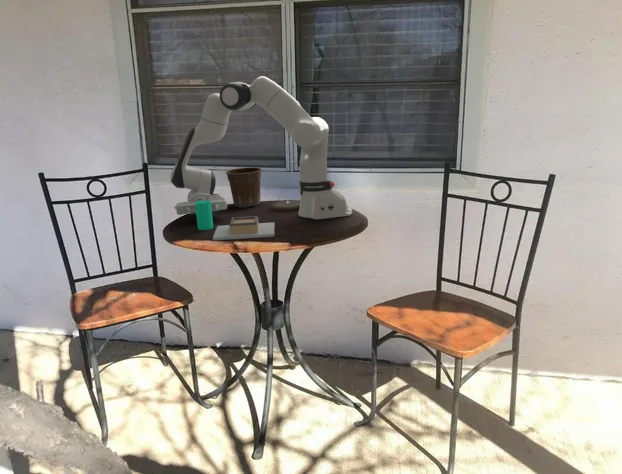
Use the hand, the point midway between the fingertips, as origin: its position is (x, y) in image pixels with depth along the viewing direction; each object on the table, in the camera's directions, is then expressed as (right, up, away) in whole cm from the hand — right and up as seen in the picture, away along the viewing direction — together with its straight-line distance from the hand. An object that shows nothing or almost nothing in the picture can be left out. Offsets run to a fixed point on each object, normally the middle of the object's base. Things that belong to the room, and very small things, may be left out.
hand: (203, 210), depth 199 cm
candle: (+1, -7, -1) cm, 7 cm away
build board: (+18, -9, -10) cm, 22 cm away
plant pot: (+13, +4, +34) cm, 37 cm away
